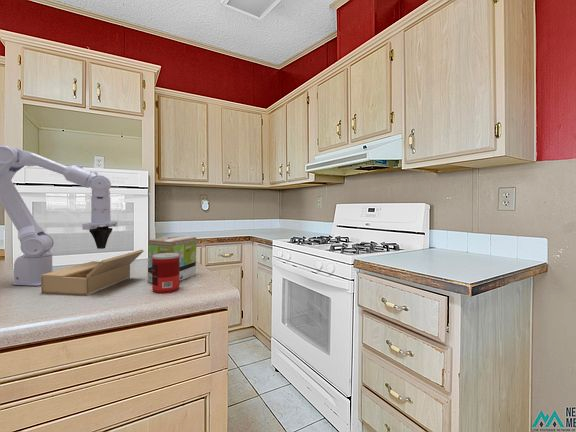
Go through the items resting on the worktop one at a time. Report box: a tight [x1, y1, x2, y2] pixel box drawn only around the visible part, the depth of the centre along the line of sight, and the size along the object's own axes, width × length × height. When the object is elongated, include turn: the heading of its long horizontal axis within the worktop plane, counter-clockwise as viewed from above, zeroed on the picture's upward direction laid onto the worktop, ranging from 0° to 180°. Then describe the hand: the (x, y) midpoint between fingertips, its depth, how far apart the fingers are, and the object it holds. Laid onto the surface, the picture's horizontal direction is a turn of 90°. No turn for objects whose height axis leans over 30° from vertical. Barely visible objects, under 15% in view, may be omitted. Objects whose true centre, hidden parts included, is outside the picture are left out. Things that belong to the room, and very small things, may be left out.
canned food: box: [151, 253, 180, 294], centre depth 91 cm, size 8×8×11 cm
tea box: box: [147, 235, 198, 284], centre depth 104 cm, size 15×10×15 cm, turn 168°
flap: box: [86, 249, 144, 278], centre depth 93 cm, size 7×20×1 cm
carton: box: [40, 260, 131, 297], centre depth 94 cm, size 14×20×6 cm
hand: (101, 248), depth 103 cm, fingers closed
